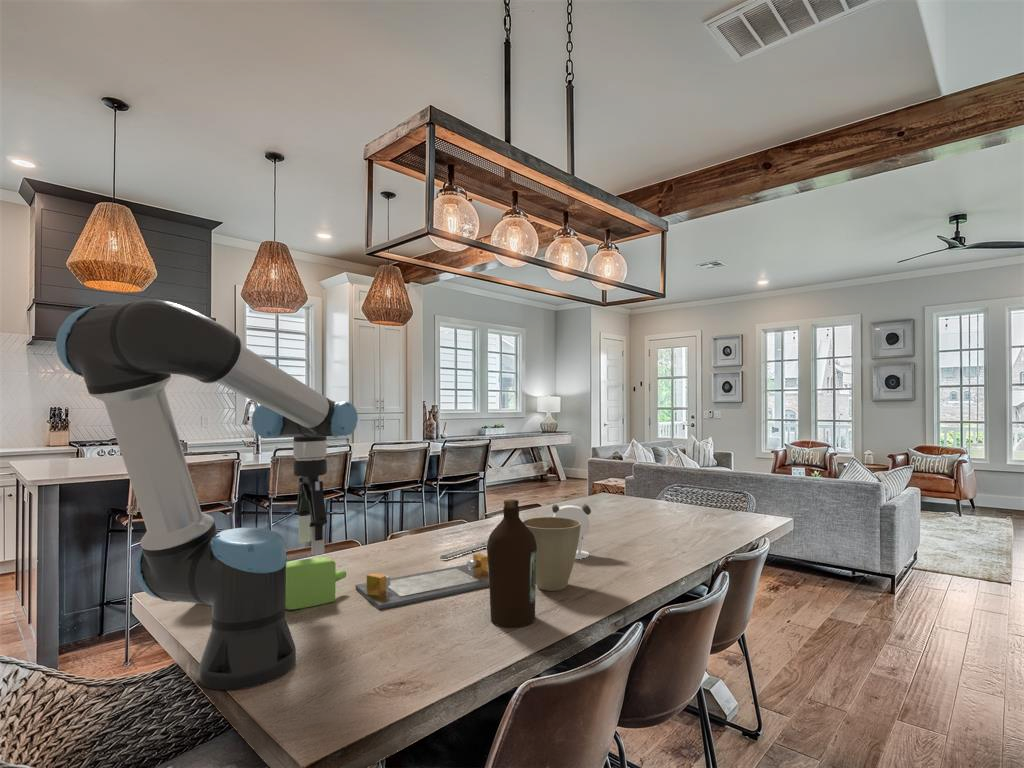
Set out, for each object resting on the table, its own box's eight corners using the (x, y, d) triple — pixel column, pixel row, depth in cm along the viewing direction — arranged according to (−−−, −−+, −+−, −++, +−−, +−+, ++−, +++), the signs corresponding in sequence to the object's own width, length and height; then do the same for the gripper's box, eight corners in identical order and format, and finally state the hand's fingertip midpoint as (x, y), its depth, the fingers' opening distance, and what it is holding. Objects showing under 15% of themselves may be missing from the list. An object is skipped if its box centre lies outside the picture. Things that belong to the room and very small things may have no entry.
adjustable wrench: (444, 563, 163) (444, 557, 163) (430, 559, 168) (430, 553, 168) (502, 546, 182) (502, 541, 182) (489, 543, 186) (489, 538, 186)
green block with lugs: (340, 590, 140) (340, 551, 141) (354, 598, 132) (354, 557, 133) (264, 604, 129) (264, 562, 130) (274, 614, 121) (275, 569, 122)
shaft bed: (504, 583, 141) (504, 561, 142) (379, 609, 124) (379, 585, 124) (471, 567, 157) (471, 547, 157) (355, 588, 139) (355, 566, 139)
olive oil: (486, 629, 112) (484, 504, 113) (489, 610, 122) (487, 496, 123) (538, 629, 111) (536, 504, 113) (537, 610, 122) (535, 496, 123)
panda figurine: (589, 550, 174) (588, 502, 175) (593, 559, 163) (592, 508, 163) (551, 550, 174) (550, 502, 175) (552, 560, 163) (551, 508, 164)
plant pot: (546, 600, 128) (545, 531, 129) (511, 584, 140) (510, 521, 141) (594, 588, 136) (593, 523, 137) (557, 574, 149) (556, 514, 149)
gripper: (340, 461, 124) (341, 556, 123) (314, 454, 145) (314, 535, 144) (305, 464, 120) (306, 562, 119) (283, 456, 141) (284, 539, 140)
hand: (311, 548), depth 132 cm, fingers open, 13 cm apart
